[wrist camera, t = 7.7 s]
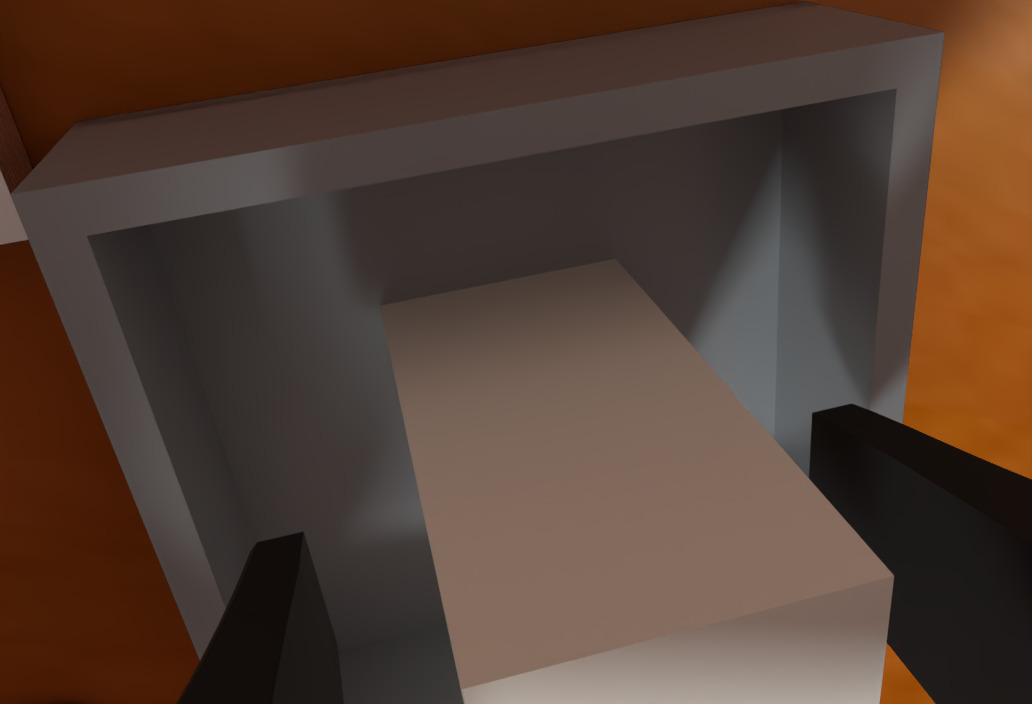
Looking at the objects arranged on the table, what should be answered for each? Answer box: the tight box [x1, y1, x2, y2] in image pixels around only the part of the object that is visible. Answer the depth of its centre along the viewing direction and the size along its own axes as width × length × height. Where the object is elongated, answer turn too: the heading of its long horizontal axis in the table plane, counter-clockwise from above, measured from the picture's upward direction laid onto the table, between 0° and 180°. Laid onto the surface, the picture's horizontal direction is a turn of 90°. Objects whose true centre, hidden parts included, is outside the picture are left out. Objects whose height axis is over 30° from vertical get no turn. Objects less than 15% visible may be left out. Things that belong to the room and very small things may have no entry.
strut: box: [380, 259, 894, 704], centre depth 12 cm, size 4×4×8 cm
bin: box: [10, 1, 945, 704], centre depth 15 cm, size 11×11×4 cm
